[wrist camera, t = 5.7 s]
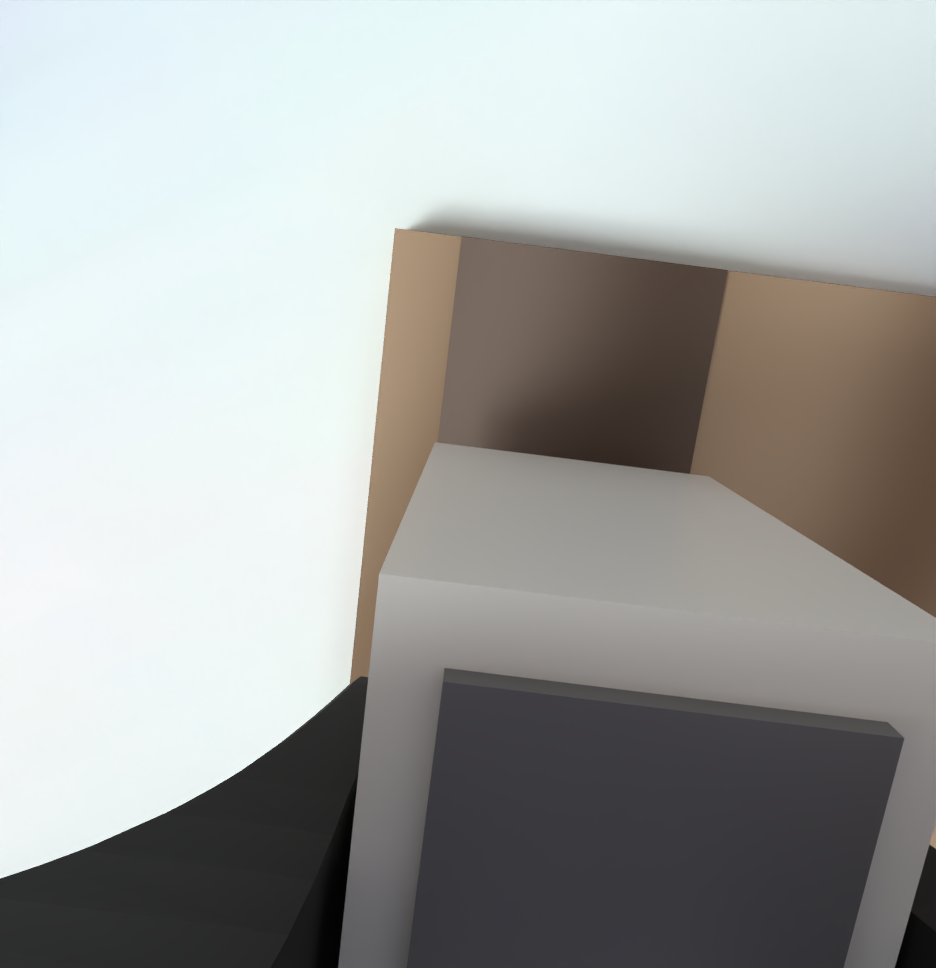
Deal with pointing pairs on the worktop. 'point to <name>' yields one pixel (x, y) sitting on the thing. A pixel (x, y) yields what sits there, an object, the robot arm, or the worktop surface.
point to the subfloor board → (664, 391)
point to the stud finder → (632, 732)
